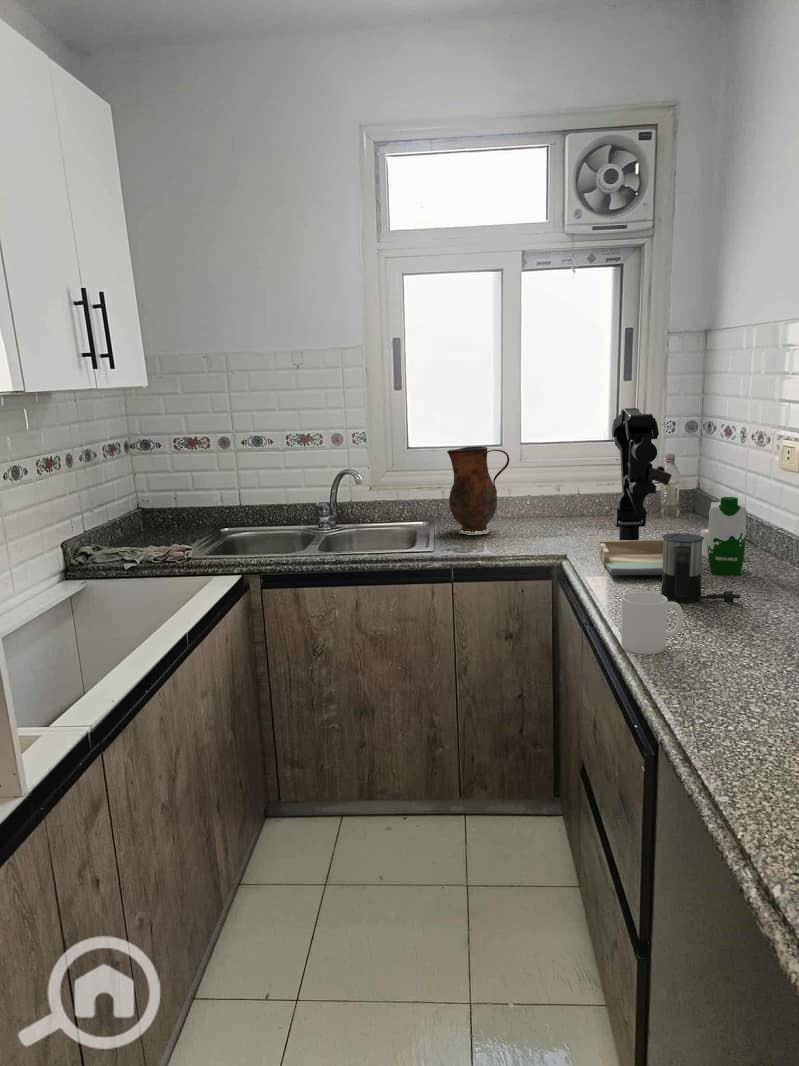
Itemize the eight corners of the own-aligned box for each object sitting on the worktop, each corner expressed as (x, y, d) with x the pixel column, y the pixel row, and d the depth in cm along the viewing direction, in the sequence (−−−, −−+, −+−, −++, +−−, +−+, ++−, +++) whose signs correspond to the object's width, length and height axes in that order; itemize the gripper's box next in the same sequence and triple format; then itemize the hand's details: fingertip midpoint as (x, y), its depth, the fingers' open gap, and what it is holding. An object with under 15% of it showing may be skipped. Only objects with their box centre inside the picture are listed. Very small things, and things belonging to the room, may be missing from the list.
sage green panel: (605, 561, 196) (611, 568, 183) (683, 561, 192) (695, 568, 180) (605, 568, 196) (611, 575, 183) (683, 567, 193) (694, 575, 180)
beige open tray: (599, 557, 208) (599, 540, 207) (674, 556, 204) (675, 539, 203) (604, 567, 196) (604, 550, 195) (684, 567, 193) (684, 549, 192)
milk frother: (655, 592, 173) (656, 532, 170) (721, 590, 172) (724, 530, 169) (674, 610, 159) (676, 546, 156) (746, 608, 158) (749, 544, 155)
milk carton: (708, 575, 185) (711, 499, 180) (705, 566, 193) (708, 493, 189) (745, 576, 182) (749, 499, 178) (741, 567, 190) (745, 494, 186)
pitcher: (450, 528, 258) (447, 446, 252) (509, 527, 256) (508, 443, 249) (449, 538, 242) (446, 450, 235) (512, 537, 239) (510, 448, 233)
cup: (614, 641, 142) (615, 593, 140) (672, 636, 143) (673, 588, 141) (631, 657, 134) (632, 605, 132) (692, 651, 135) (694, 601, 133)
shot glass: (728, 557, 201) (729, 533, 200) (702, 557, 202) (703, 533, 201) (722, 551, 208) (723, 528, 206) (697, 551, 209) (698, 528, 208)
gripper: (676, 462, 189) (674, 519, 192) (662, 454, 207) (661, 507, 210) (633, 463, 191) (632, 520, 194) (623, 456, 209) (622, 508, 212)
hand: (638, 513), depth 202 cm, fingers closed
